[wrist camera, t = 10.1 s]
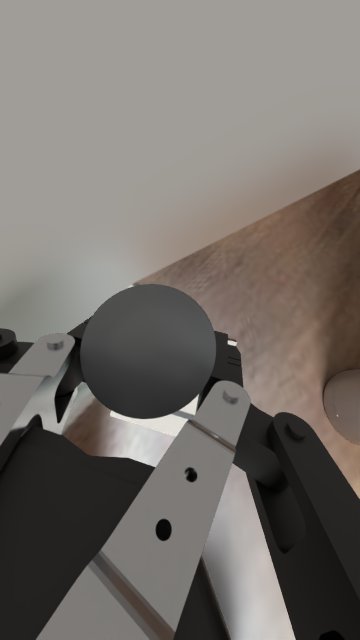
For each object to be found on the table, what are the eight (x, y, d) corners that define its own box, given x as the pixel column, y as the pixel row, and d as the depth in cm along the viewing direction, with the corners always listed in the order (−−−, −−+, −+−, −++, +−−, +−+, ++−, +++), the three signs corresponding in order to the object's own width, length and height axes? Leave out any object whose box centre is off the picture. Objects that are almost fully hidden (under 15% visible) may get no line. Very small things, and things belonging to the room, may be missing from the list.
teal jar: (205, 345, 15) (228, 301, 8) (189, 412, 14) (196, 439, 6) (145, 329, 16) (110, 271, 8) (124, 391, 14) (56, 394, 7)
